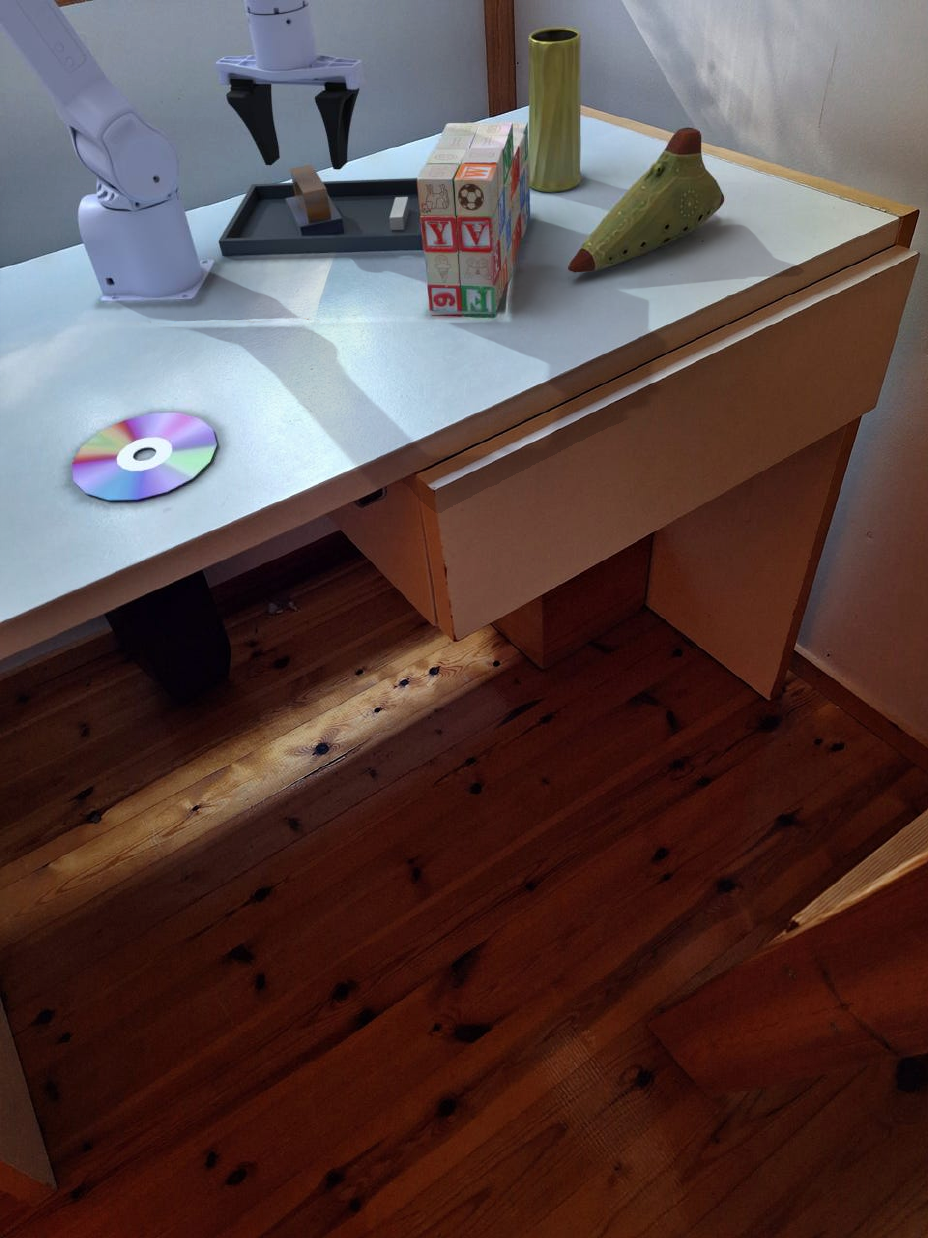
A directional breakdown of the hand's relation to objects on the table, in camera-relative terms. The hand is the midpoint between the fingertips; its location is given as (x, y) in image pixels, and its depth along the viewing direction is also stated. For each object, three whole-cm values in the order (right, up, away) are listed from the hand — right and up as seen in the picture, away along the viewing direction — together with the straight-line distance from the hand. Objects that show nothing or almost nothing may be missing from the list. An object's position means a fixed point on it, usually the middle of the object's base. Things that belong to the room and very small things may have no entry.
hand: (306, 163), depth 92 cm
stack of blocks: (+18, -12, -3) cm, 22 cm away
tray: (+2, -5, +5) cm, 7 cm away
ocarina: (+34, -10, -3) cm, 36 cm away
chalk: (+9, -4, +3) cm, 11 cm away
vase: (+26, +2, +9) cm, 28 cm away
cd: (-9, -34, -21) cm, 41 cm away
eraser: (0, -4, +5) cm, 6 cm away
